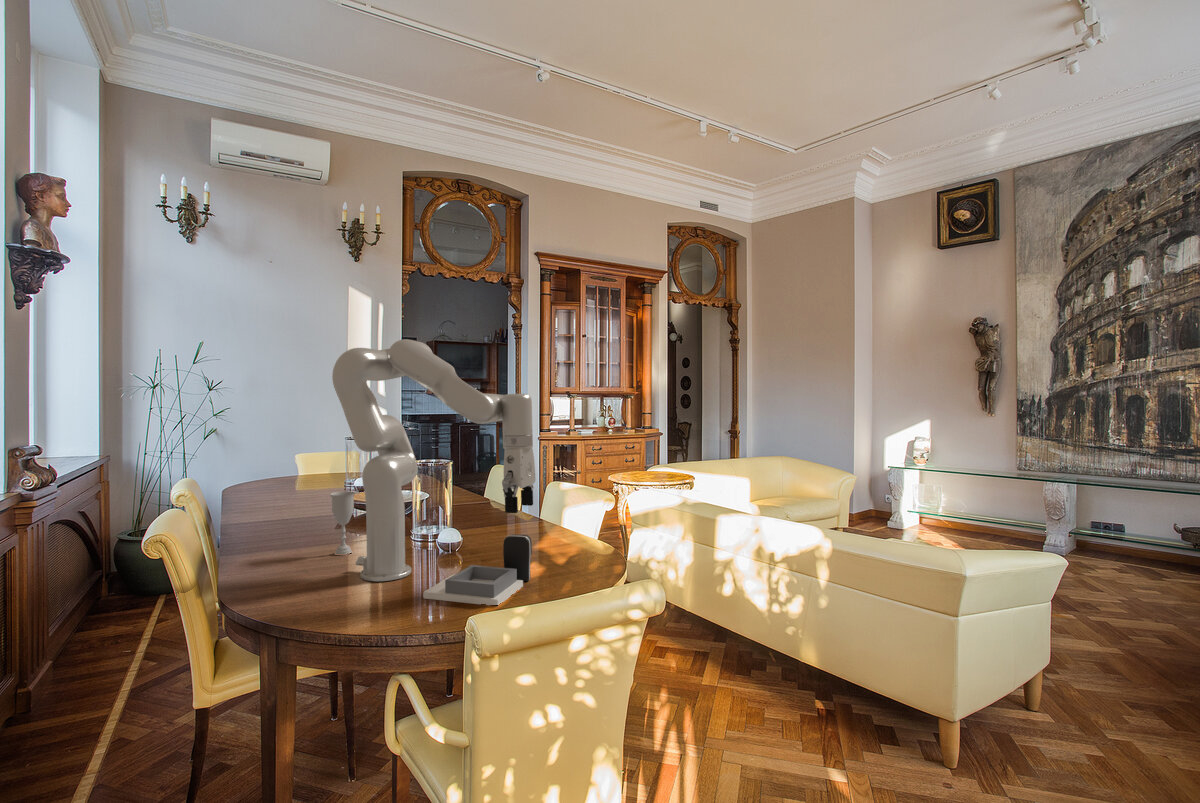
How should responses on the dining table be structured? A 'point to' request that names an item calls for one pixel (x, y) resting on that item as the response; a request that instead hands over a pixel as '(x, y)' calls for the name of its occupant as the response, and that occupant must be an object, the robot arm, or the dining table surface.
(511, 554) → the battery charger
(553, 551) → the dining table surface
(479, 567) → the dock
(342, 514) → the chalice
